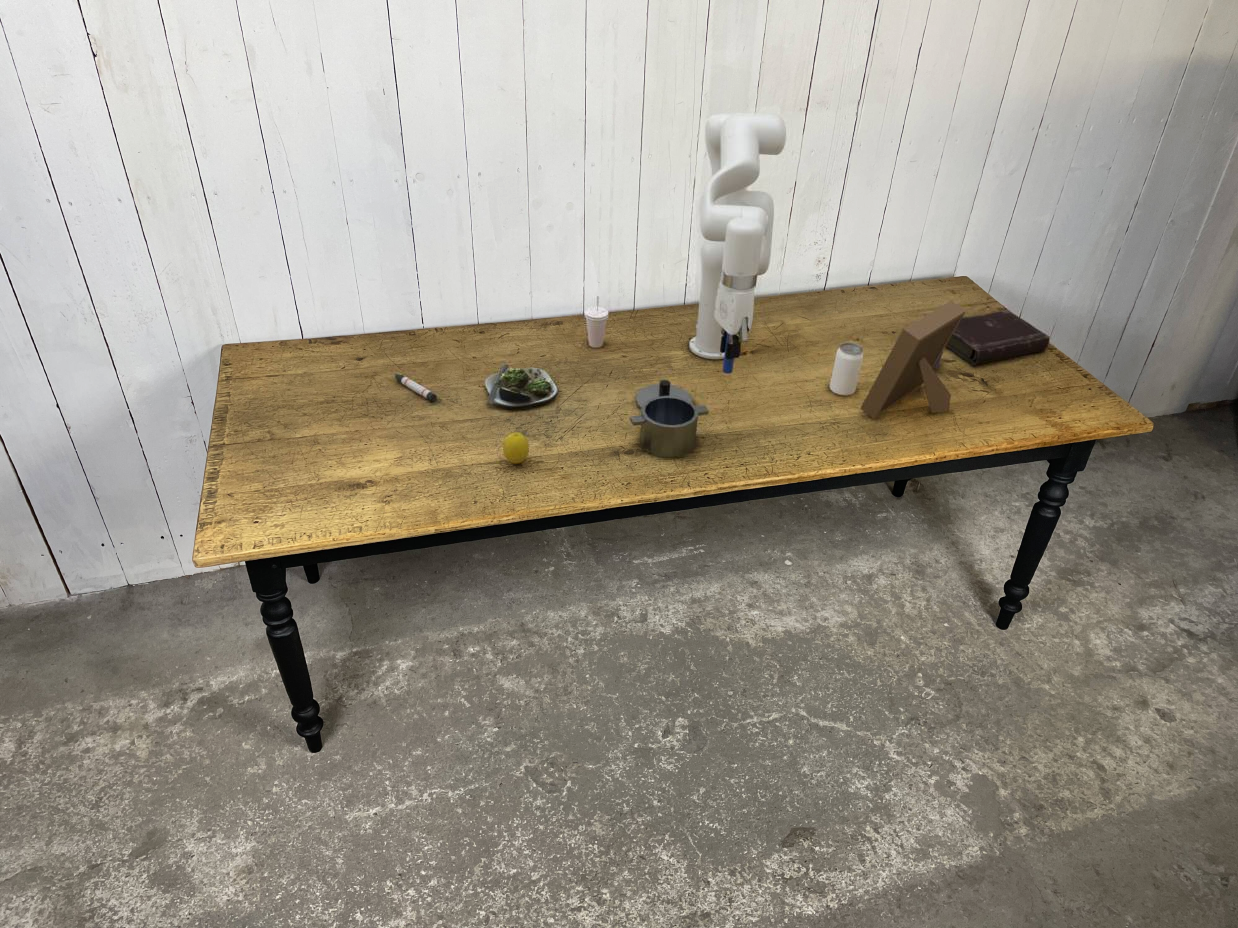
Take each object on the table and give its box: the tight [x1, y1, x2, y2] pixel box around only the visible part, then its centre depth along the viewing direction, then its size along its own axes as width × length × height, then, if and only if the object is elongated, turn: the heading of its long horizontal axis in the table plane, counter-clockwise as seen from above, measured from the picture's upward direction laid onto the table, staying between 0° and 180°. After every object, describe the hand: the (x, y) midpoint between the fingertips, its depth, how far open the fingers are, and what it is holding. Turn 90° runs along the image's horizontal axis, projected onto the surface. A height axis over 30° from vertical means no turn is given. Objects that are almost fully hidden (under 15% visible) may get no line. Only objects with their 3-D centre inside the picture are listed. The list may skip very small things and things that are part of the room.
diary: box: [945, 309, 1051, 366], centre depth 240 cm, size 19×25×5 cm
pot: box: [629, 396, 709, 459], centre depth 196 cm, size 13×18×8 cm
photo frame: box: [859, 300, 967, 420], centre depth 206 cm, size 15×22×25 cm
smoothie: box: [584, 295, 610, 349], centre depth 230 cm, size 6×6×14 cm
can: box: [829, 342, 864, 397], centre depth 216 cm, size 6×6×12 cm
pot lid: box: [635, 379, 693, 410], centre depth 210 cm, size 14×14×6 cm
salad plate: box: [484, 363, 558, 411], centre depth 213 cm, size 19×18×5 cm
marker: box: [394, 373, 438, 403], centre depth 212 cm, size 15×2×2 cm, turn 48°
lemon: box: [502, 432, 530, 464], centre depth 188 cm, size 6×6×8 cm
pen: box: [722, 333, 738, 374], centre depth 192 cm, size 2×2×12 cm
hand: (729, 354), depth 193 cm, fingers closed on pen, 2 cm apart
